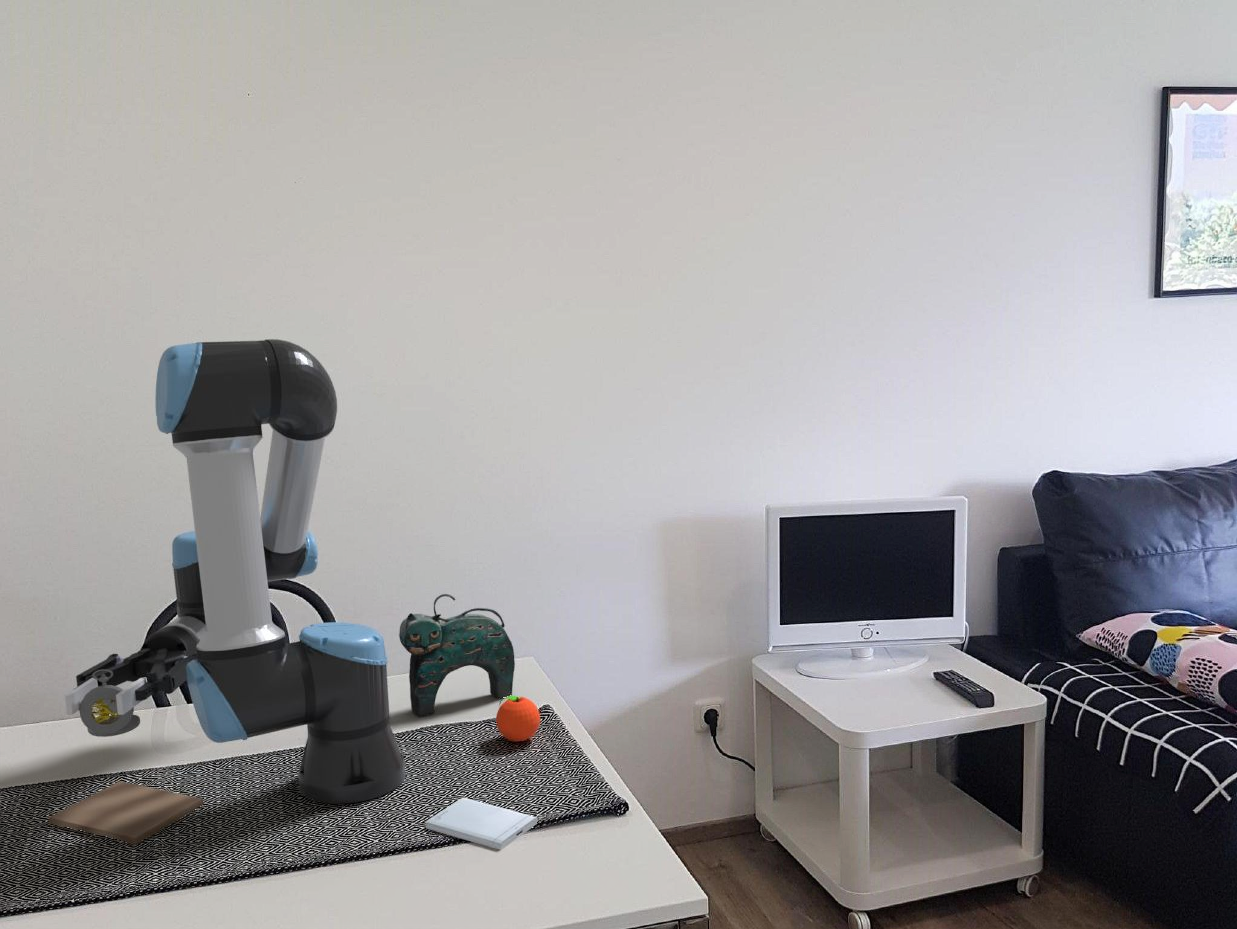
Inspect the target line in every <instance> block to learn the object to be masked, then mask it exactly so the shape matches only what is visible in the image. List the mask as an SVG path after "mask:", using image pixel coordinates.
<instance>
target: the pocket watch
mask: <svg viewBox="0 0 1237 929" xmlns="http://www.w3.org/2000/svg"><path fill="white" fill-rule="evenodd" d="M99 671H108V672H110V673H111V676H110V677H106V676H105V675H104V674H102V675H101V676H102V677H100V678H96V677H95V676H94V675H95V673H97V672H99ZM92 676H93V678H94V679H97V680H99V681H100V682H102V686H99V687H96V688H94V689H92V690H91V691H89V692H88V693H87V694H86V695H85V696H84V698H83V700H82V702H81V704H80V710H79V716H80V717H79V718H80V719H81V721H82V723H83V725H84V726H85V727H86V728H87V733H89V735H91V736H94V737H99V738H100V737H103V738H105V737H113V736H114V737H115V736H119V735H123V734H125V733H126V734H127V733H129V732H131V731H134V730H135V729H137V728H138V727H139V726H140V725H141V717H140V716H138V715H137V714H134V713H135V712H134V711H135V707H133V708H132V709H131V710H129V711H128V712H126V713H125V714H124V715H118V710H117V701H116V695H117V694H118V693H120V692H121V691H123V690H124V689H123V688H122V687H119V686H118V685H117V686H113V685H106V681H108V680H109V679H110V678H111V677H112V676H113V672H112V671H110V670H107V669H102V670H97V671H95V672H94V673H93V674H92ZM95 715H97V716H95Z"/></svg>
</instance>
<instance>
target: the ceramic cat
mask: <svg viewBox="0 0 1237 929" xmlns="http://www.w3.org/2000/svg"><path fill="white" fill-rule="evenodd" d="M443 597H444V598H445V597H449V598H450V599H451V600H453V601H454V602H455V600H456V598H455V597H454V596H453V595H451V594H448V593H443V594H440V595H439V596H437V597H436V598H435V599H434V602H433V613H434V615H433V616H431V615H428V614H424V613H423V614H422V613H412V612H410V613H409V614H408V615H407V617H405V619H403V620H402V622H400V623H401V624H400V626H399V634H398V637H399V638H398V639H399V641H400V643H401V645H402V647H403V648H404V649H405V650H406V651H407V653H409V654H410V658H409V671H408V672H409V677H408V679H409V695H410V696H409V698H410V707H411V711H412V712H413V714H414V715H415V716H416V717H418V718H421V717H422V718H423V717H427V716H431V715H433V714H434V713H435V704H436V700H437V694H438V692H439V689H440V687H441V686H442V683H443V682H444V680H445V679H446V677H447V676H448V675H450V673H452V672H455V671H456V670H457V671H458V670H459V669H461V668H465V667H468V666H469V667H470V666H473V667H478V668H481V669H482V670H484V671H486V673H487V675H488V680H489V692H490V693H489V694H490V695H491V696H493V698H495V699H497V698H502V699H503V697H507V696H510V695H511V696H513V685H514V684H513V683H514V677H515V676H514V674H515V668H516V667H515V664H516V661H515V651H514V646H513V643H512V641H511V639H510V637H509V636H508V633H507V632H506V630H505V629H504V628H505V627H506V626H505V623H504V619H503V618H502V615H500V613H498V612H497V611H496V610H494V609H491V608H488V607H487V608H486V607H475V608H471V609H468V610H465V611H464V612H462V613H460V614H458V615H455V616H450V617H447V618H444V617H443V618H442V617H441V616H442V614H441V613H439V614H437V610H436V603H437V602H438V600H439V599H440V598H443ZM475 611H477V612H478V611H479V612H491V613H492V614H494V615H495V616H497V617H498V618H499V620H500V622H501V624H500V623H499V622H497V621H496V620H494V618H490V617H488V616H487V615H484V614H480V613H479V614H478V613H471V612H475Z"/></svg>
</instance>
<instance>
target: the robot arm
mask: <svg viewBox="0 0 1237 929" xmlns="http://www.w3.org/2000/svg"><path fill="white" fill-rule="evenodd" d="M156 373H157V374H156V383H155V416H156V425H157V428H158V430H159V431H160V432H161V433H164V434H166V435H168V434H171V440H172V442H171V443H172V447H173V448H175V449H176V450H177V451H178V452H180V453H181V454H182V455H183V456H184V457H185V459H186V465H187V466H186V467H187V474H188V482H189V483H188V484H189V491H190V500H191V506H192V507H191V509H192V516H193V517H192V518H193V526H194V530H193V531H187V532H183V533H181V534H180V533H179V534H178V535H177V536H175V537H174V538H173V540H172V544H171V546H172V547H171V548H172V549H171V550H172V551H171V552H172V553H171V554H172V564H171V567H172V569H173V570H172V571H173V578H174V587H175V596H176V613H177V618H175V619H174V620H172V621H171V622H170V623H168V624H166V625H164V626H163V627H161V628H160V629H158V630H157V631H155V632H154V633H152V634H150V635H148V637H147V638H146V639H145V640H144V642H143V644H142V645H141V648H140V650H138V651H137V652H135V653H132V654H130V655H129V656H127V657H124V658H121V656H119V654H118V653H112V654H110V655H108V656H107V658H106V659H105V660H102V661H100V662H99V663H97V664H95V665H94V666H93V665H92V667H90V668H88V669H86V670H84V671H82V672H81V673H79V674H77V675H76V676H75V678H76V679H75V680H76V687H75V688H73V689H72V690H71V691H69V692H68V693H66V694H65V695H64V698H65V705H66V706H65V707H66V714H67V716H71V715H72V716H73V715H75V714H76V713H77V712H78V711H79V710H80V704H81V702H82V700H83V698H84V696H85V695H86V694H87V693H88V692H89V691H91V690H92V689H94V688H96V687H99V686H102V682H100V681H99V680H97V679H94V678H93V676H92V674H93V673H94V672H95V671H97V670H102V669H107V670H110V671H112V672H113V676H112V677H111V678H110V679H109V680H108V681H106V685H113V686H117V687H118V686H119V685H121V684H123V683H124V684H125V683H126V682H131V684H130V685H128V686H127V687H126V688H124V689H123V691H121V692H120V693H118V694H117V695H116V701H117V710H118V715H124V714H125V713H126V712H128V711H129V710H131V709H132V708H133V707H134V708H135V707H136V706H138V705H139V704H140V703H141V702H143V701H145V700H147V699H149V698H150V697H151V696H152V697H153V696H157V695H159V693H160V692H163V693H164V694H166V695H170V694H173V693H174V692H175V691H176V690H177V689H178V688H180V686H182V685H183V684H184V683H185V682H187V686H188V691H189V695H190V698H191V702H192V705H193V708H194V711H195V714H196V717H197V719H198V722H199V724H200V727H201V729H202V731H203V732H204V734H205V736H206V737H207V738H208V739H209V740H211V741H212V742H214V743H220V744H223V743H227V742H234V741H239V740H242V741H247V740H248V739H249V738H254V737H257V736H263V735H266V734H271V733H275V732H280V731H284V730H289V729H292V728H296V727H301V726H305V725H306V727H307V739H306V742H305V746H304V749H303V754H302V758H301V762H300V765H299V769H298V778H297V779H298V787H299V792H300V794H301V795H302V796H303V797H305V798H306V799H309V800H311V801H313V802H317V803H321V802H322V803H323V804H330V805H331V804H332V805H334V804H335V805H340V804H354V803H360V802H365V801H369V800H373V799H375V798H379V797H381V796H384V795H387V794H388V793H390V792H392V791H393V790H396V788H397V789H398V787H399V786H400V785H402V783H403V782H404V780H405V778H406V762H405V758H404V756H403V754H402V752H401V751H400V748H399V746H398V742H397V739H396V737H395V735H394V732H393V730H392V728H391V721H390V720H391V719H390V718H391V717H390V703H389V690H388V689H389V688H388V687H389V686H388V670H387V666H388V665H387V664H388V659H387V654H386V647H385V641H384V638H383V635H382V634H381V632H379V631H378V630H376V629H375V628H373V627H371V626H368V625H367V626H366V625H363V624H360V623H353V622H341V621H338V622H336V621H335V622H333V621H332V622H320V623H319V622H318V623H314V624H310V625H309V626H305V627H303V628H302V629H301V631H300V634H299V636H298V641H293V642H288V643H287V642H286V641H287V640H286V634H285V631H284V630H283V629H282V628H280V627H279V626H277V625H276V624H275V623H274V622H273V620H272V619H273V618H272V610H271V609H272V608H271V600H270V593H269V583H270V582H274V581H281V580H283V581H284V580H291V579H292V580H293V579H296V578H298V577H303V576H308V575H311V574H313V573H314V572H315V571H316V569H317V568H318V565H319V564H318V562H319V561H318V555H319V554H318V552H319V551H318V546H317V542H316V539H315V536H314V535H313V533H312V532H311V531H309V530H308V529H309V525H310V519H311V512H312V509H313V508H312V507H313V503H314V498H315V492H316V487H317V482H318V476H319V471H320V465H321V461H322V455H323V451H324V450H323V449H324V444H325V440H326V439H325V438H327V437H328V436H330V434H332V432H333V430H334V428H335V424H336V419H337V415H338V399H337V392H336V390H335V386H334V384H333V381H332V379H331V377H330V375H329V373H328V372H327V370H326V368H325V367H324V366H323V365H322V363H321V362H320V361H319V359H318V358H316V356H314V355H313V354H312V353H311V352H309V350H307V349H306V348H303V347H302V346H300V345H298V344H296V343H293V342H291V341H287V340H284V339H278V338H277V339H273V338H271V339H264V340H263V339H262V340H240V341H239V340H234V341H231V340H230V341H202V342H201V341H197V342H192V343H185V344H183V343H182V344H177V345H172V346H169V347H168V348H166V349H165V350H164V351H163V352H162V354H161V356H160V360H159V362H158V367H157V372H156ZM268 424H269V427H270V428H271V429H272V433H271V439H270V440H271V441H270V446H269V454H268V462H267V468H266V474H265V475H266V476H265V483H264V489H263V497H262V505H261V510H260V504H259V496H258V495H259V494H258V489H257V479H256V471H255V462H254V461H255V460H254V449H255V448H256V447H257V446H258V444H259V443H260V442H261V440H262V439H263V428H262V426H263V425H268ZM268 582H269V583H268ZM102 674H104V675H105V676H106V677H110V676H111V673H110V672H108V671H99V672H97V673H95V675H94V676H95V677H96V678H100V677H102V676H101V675H102ZM79 712H80V711H79Z"/></svg>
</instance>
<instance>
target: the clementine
mask: <svg viewBox="0 0 1237 929" xmlns="http://www.w3.org/2000/svg"><path fill="white" fill-rule="evenodd" d="M504 699H507V700H505V701H504V702H503V703H502V701H503V700H504ZM498 707H499V708H498V710H497V713H496V716H495V717H496V718H495V722H496V727H497V730H498V731H499V733H500V734H501V736H503V737H504V738H505V739H507V740H509V741H510V742H515V743H517V742H519V741H521V742H525V741H527V739H528V740H530V739H531V738H532V737H533V736H534V735H535V734H536V733H537V732H538V729H539V726H540V723H541V715H540V710H539V709H538V707H537V705H536V704H535V703H534V702H533V701H532V700H530V699H529V698H527V697H524V696H516V695H511V696H508V697H506V698H502V699H500V700H499V705H498ZM524 740H525V741H524Z"/></svg>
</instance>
